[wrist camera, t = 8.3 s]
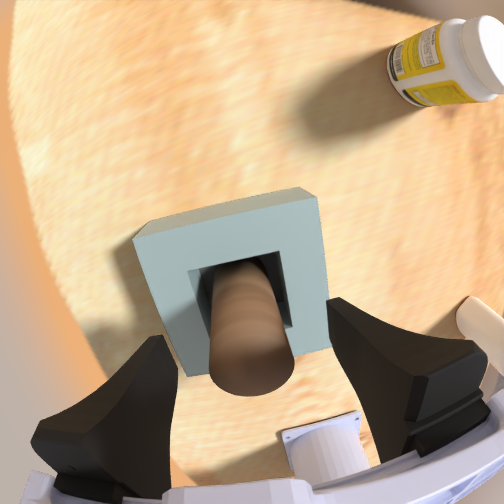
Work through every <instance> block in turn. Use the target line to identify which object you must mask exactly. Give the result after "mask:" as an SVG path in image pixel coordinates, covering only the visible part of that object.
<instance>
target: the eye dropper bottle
mask: <svg viewBox="0 0 504 504" xmlns="http://www.w3.org/2000/svg"><path fill="white" fill-rule="evenodd" d="M456 323H457V327H458V329H459V331H460V332H461V333H462V334H463V335H464V336H465V337H466V338H467V339H468V340H473V341H474V342H475V343H476V344H477V345H478V346H479V347H480V348H481V349H482V350H483V351H484V352H485V353H486V354H487V356H488V361H489V362H490V363H491V364H492V365H493V366H494V367H495V368H496V369H497V370H498V371H499V372H500V373H501V374H502V375H503V376H504V319H503V318H502V317H500V316H499V315H498V314H497V313H496V312H494V311H493V310H492V309H491V308H489V307H488V306H487V305H486V304H484V303H483V302H482V301H480V300H479V299H478V298H476V297H474V296H469V297H468V298H467V299H466V300H465V301H464V302H463V304H462V305H461V306H460V307H459V308H458V310H457V312H456Z"/></svg>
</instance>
